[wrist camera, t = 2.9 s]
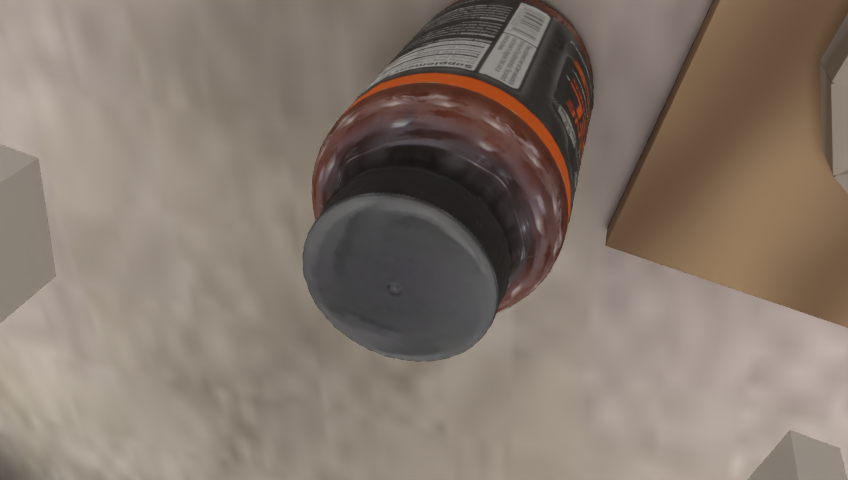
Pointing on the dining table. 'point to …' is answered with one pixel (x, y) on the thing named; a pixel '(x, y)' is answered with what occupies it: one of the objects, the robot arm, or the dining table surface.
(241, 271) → the dining table surface
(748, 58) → the ring board
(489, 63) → the supplement bottle
